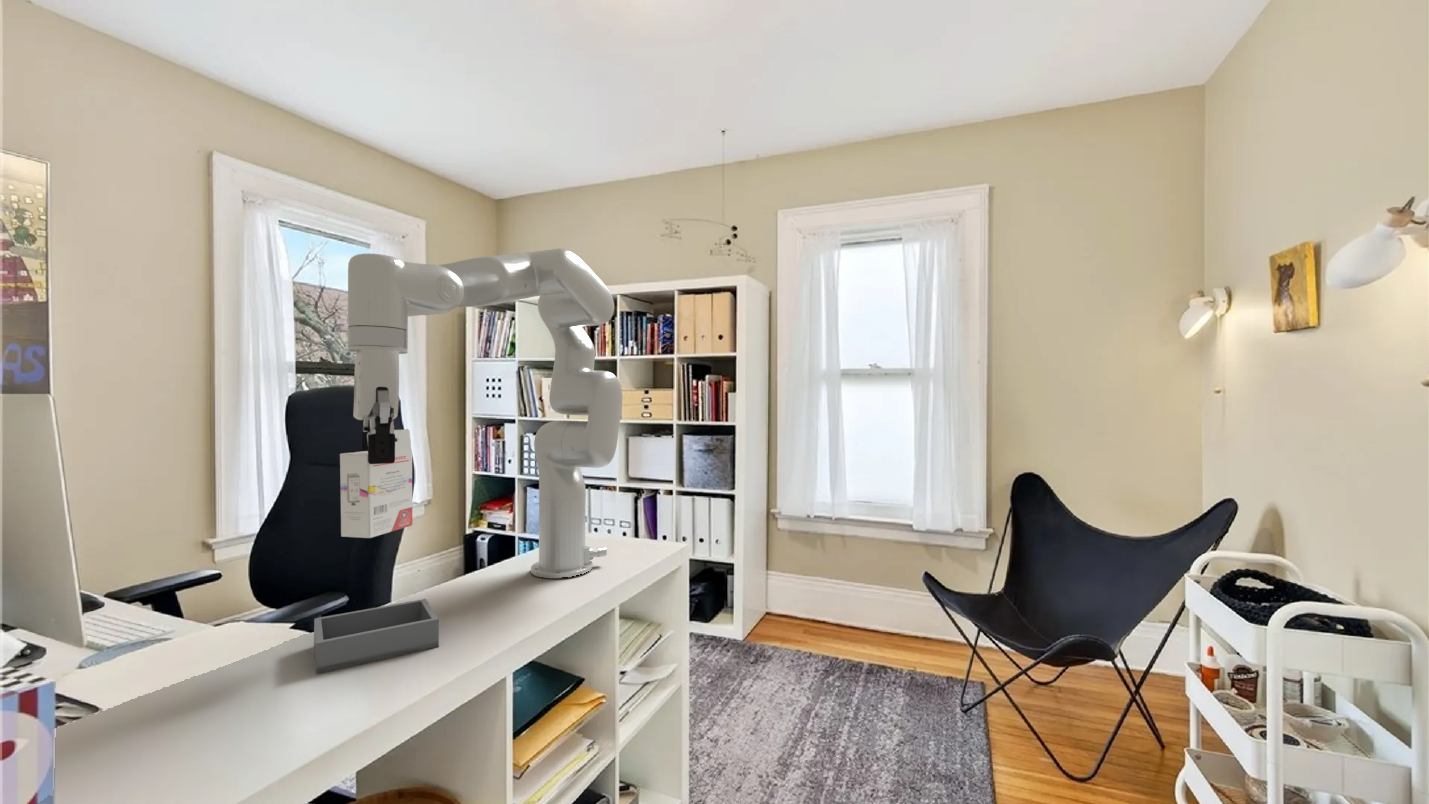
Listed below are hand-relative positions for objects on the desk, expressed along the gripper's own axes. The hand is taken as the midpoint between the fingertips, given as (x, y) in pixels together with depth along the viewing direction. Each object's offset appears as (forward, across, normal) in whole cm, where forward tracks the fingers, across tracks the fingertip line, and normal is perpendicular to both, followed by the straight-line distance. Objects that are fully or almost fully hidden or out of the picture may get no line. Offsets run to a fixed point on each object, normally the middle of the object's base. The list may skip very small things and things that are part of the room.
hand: (377, 460), depth 83 cm
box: (+27, 0, 0) cm, 27 cm away
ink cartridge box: (+11, 0, 0) cm, 11 cm away
